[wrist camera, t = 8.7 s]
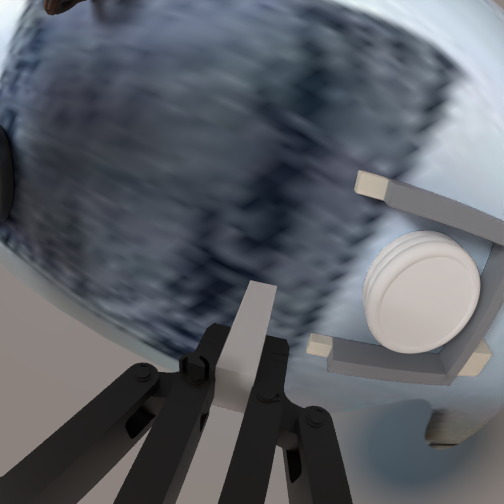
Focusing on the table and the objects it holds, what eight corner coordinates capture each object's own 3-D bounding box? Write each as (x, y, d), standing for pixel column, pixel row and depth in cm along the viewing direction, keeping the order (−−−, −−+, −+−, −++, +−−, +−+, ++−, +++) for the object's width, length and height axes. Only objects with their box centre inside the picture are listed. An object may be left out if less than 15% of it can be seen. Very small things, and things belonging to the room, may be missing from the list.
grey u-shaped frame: (307, 344, 25) (304, 367, 22) (358, 169, 18) (365, 175, 16) (461, 367, 23) (468, 386, 20) (529, 233, 16) (547, 246, 13)
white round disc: (342, 314, 23) (344, 340, 20) (392, 208, 19) (406, 222, 16) (429, 341, 23) (438, 365, 20) (482, 253, 18) (501, 270, 15)
